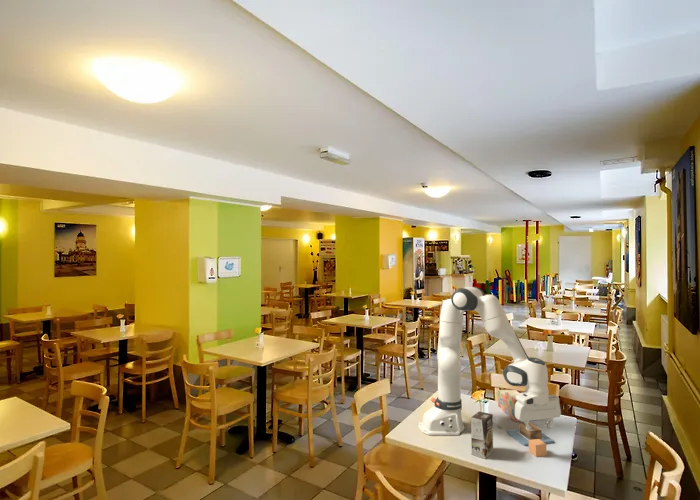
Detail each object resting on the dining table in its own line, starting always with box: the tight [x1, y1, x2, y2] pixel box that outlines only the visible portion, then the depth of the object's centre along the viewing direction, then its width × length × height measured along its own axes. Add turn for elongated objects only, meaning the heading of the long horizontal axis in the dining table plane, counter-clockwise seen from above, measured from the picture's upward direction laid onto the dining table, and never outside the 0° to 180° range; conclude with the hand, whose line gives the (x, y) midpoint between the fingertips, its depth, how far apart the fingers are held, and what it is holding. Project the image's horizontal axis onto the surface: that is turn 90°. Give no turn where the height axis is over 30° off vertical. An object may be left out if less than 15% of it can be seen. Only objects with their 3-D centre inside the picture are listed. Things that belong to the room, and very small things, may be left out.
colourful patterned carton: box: [497, 389, 524, 423], centre depth 217 cm, size 21×6×12 cm, turn 2°
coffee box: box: [470, 411, 494, 460], centre depth 174 cm, size 9×6×16 cm
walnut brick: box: [519, 422, 543, 440], centre depth 188 cm, size 6×8×4 cm
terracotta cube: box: [528, 439, 547, 458], centre depth 173 cm, size 5×5×5 cm
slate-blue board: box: [506, 428, 555, 447], centre depth 188 cm, size 15×14×1 cm
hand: (538, 428), depth 173 cm, fingers open, 8 cm apart
